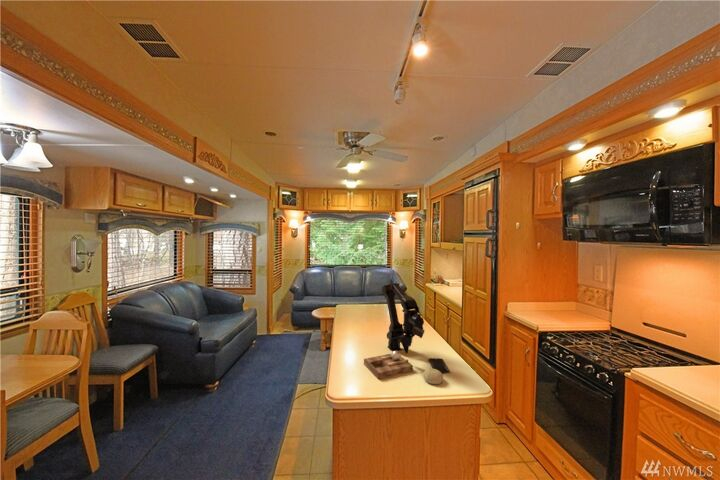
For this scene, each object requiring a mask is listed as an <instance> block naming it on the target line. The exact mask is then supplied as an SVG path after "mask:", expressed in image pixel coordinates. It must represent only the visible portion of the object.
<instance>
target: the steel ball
mask: <svg viewBox="0 0 720 480" xmlns="http://www.w3.org/2000/svg"><path fill="white" fill-rule="evenodd" d="M391 353H392V354H391ZM391 353H390V354H391V357H392V359H393V360H395V361H398V360H399V359H400V358H401V357H402V354H401V352H400V350H396V351H392V352H391Z"/></svg>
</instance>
